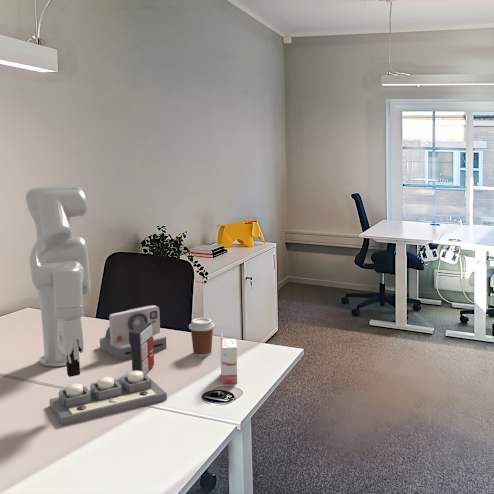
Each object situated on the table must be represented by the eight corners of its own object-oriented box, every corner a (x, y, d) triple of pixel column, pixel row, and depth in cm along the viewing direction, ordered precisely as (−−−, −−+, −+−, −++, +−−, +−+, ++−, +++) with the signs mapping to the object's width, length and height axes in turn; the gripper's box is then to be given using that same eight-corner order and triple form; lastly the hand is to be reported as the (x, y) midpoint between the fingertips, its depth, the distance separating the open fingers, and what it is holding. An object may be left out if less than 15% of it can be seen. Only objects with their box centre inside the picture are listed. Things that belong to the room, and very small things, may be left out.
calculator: (143, 378, 188) (141, 333, 185) (130, 377, 189) (128, 332, 186) (155, 365, 199) (153, 322, 196) (143, 365, 200) (141, 322, 197)
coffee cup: (186, 350, 213) (185, 318, 211) (210, 347, 216) (210, 315, 214) (193, 359, 204) (192, 325, 202) (218, 355, 207) (218, 322, 205)
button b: (95, 386, 173) (95, 379, 172) (111, 383, 175) (110, 375, 175) (100, 392, 169) (100, 384, 168) (116, 388, 171) (115, 381, 171)
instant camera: (113, 362, 203) (110, 320, 200) (96, 345, 220) (94, 306, 218) (170, 351, 213) (169, 311, 210) (150, 335, 231) (148, 298, 228)
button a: (64, 393, 168) (64, 385, 168) (80, 390, 170) (80, 382, 170) (68, 399, 164) (68, 391, 164) (85, 395, 167) (84, 387, 166)
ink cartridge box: (238, 383, 183) (237, 338, 181) (222, 384, 183) (221, 338, 180) (236, 372, 192) (235, 329, 189) (220, 373, 191) (219, 329, 189)
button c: (125, 380, 177) (125, 372, 177) (140, 377, 180) (139, 369, 179) (130, 385, 173) (130, 377, 173) (145, 382, 176) (145, 374, 175)
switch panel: (49, 405, 169) (48, 390, 168) (148, 383, 184) (148, 369, 184) (62, 425, 157) (60, 409, 157) (166, 399, 172) (166, 385, 172)
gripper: (49, 307, 167) (53, 369, 170) (62, 319, 155) (66, 386, 158) (75, 303, 171) (79, 364, 174) (90, 315, 158) (94, 380, 161)
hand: (73, 374), depth 166 cm, fingers closed
